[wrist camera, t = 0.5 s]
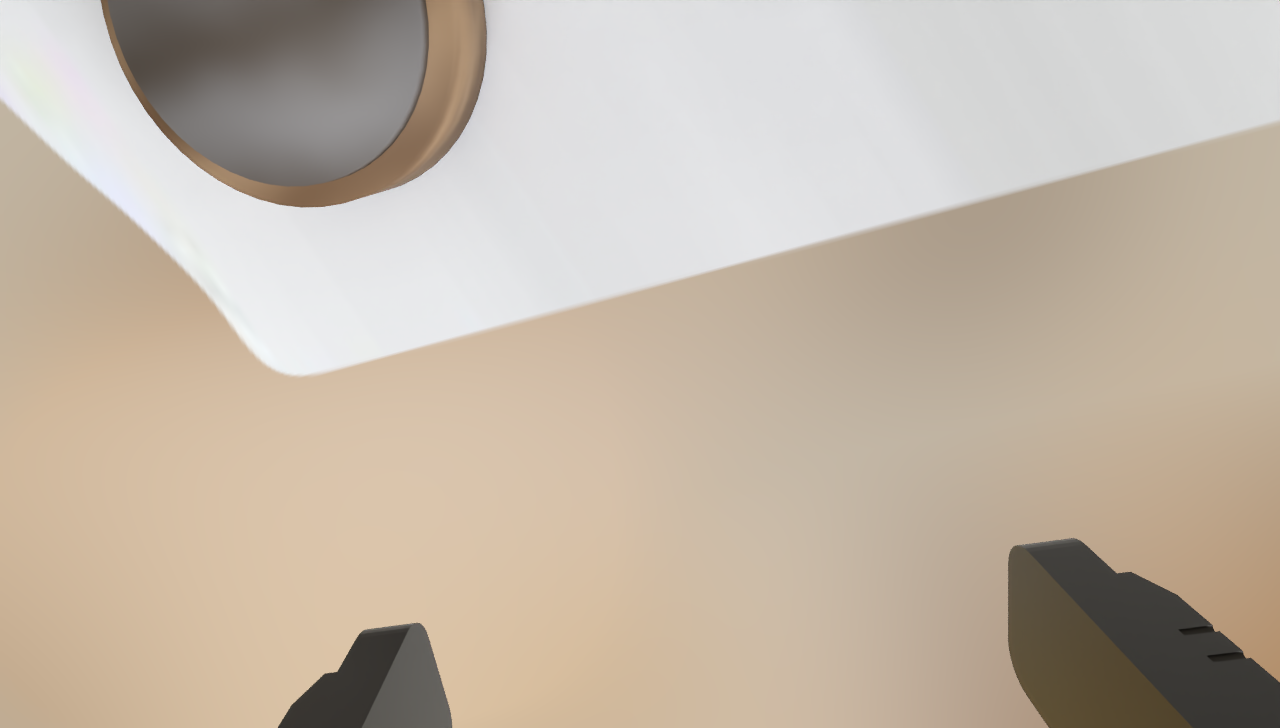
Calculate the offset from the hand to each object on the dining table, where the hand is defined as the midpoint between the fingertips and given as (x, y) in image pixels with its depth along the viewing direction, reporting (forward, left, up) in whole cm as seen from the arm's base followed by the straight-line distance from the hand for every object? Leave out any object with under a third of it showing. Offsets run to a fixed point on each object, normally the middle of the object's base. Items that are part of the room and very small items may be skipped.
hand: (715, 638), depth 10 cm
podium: (-17, -12, -26) cm, 33 cm away
